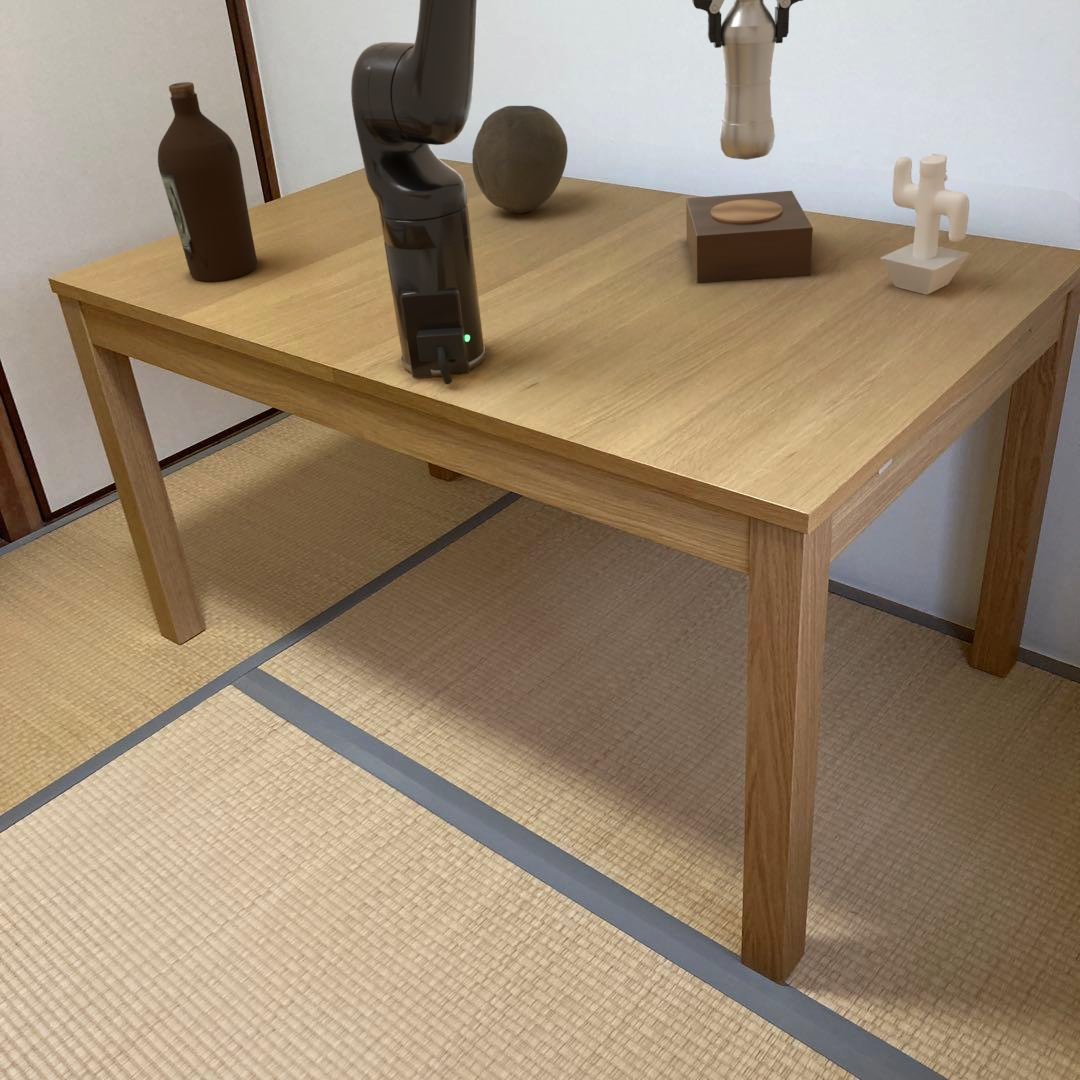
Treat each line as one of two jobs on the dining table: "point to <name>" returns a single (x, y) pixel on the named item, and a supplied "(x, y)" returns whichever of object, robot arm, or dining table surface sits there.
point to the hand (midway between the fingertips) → (747, 44)
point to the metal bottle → (747, 80)
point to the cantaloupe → (519, 157)
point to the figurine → (927, 226)
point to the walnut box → (748, 236)
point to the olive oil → (205, 192)
